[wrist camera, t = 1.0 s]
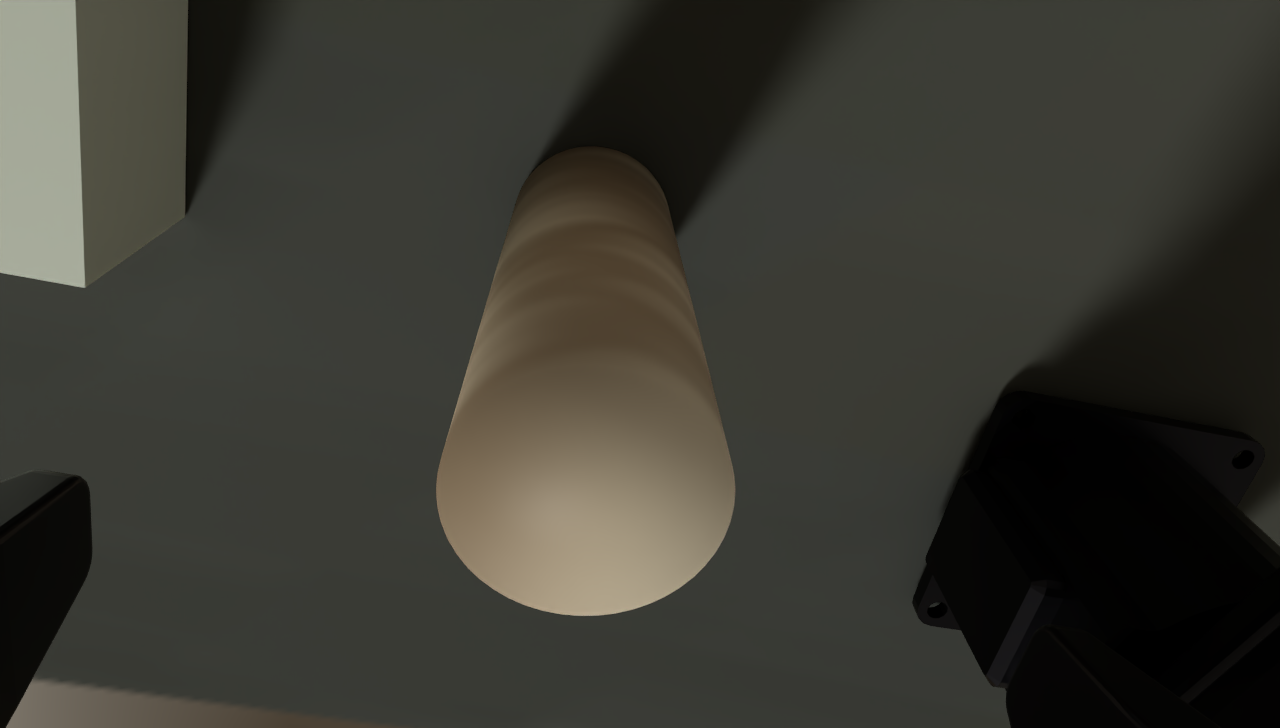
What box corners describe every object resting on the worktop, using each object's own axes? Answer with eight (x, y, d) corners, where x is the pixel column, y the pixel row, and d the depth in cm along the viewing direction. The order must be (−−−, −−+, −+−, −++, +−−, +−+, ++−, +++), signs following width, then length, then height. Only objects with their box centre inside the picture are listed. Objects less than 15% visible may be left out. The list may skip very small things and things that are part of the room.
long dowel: (686, 164, 18) (769, 395, 9) (650, 309, 20) (695, 633, 11) (527, 130, 18) (457, 337, 9) (502, 282, 19) (419, 593, 10)
